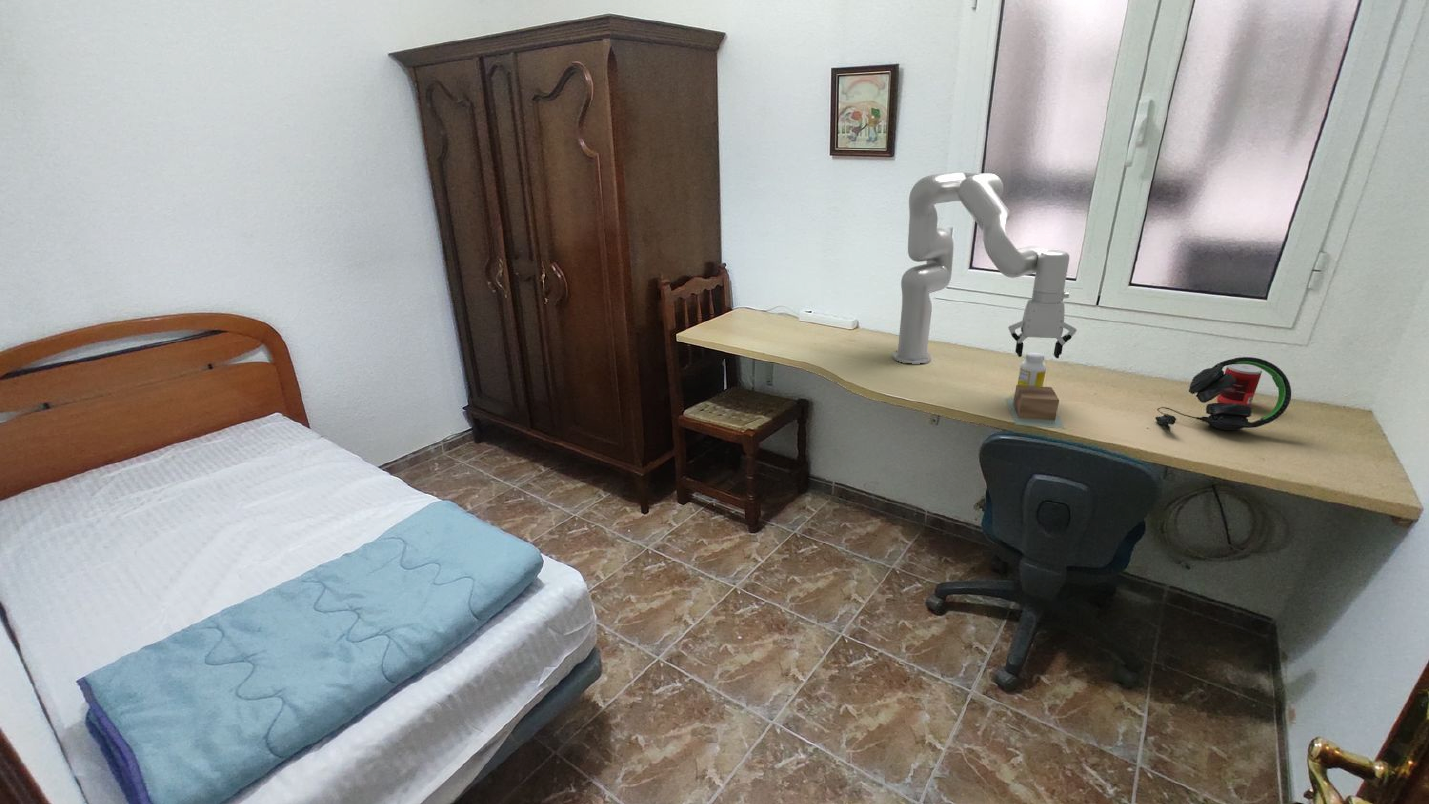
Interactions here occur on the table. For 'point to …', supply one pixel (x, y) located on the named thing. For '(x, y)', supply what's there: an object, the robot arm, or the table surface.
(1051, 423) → the felt pad
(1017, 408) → the walnut block
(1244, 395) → the canned food
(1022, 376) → the supplement bottle
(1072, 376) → the table surface
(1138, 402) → the table surface
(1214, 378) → the headset
